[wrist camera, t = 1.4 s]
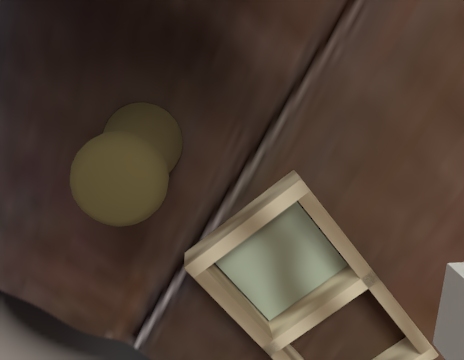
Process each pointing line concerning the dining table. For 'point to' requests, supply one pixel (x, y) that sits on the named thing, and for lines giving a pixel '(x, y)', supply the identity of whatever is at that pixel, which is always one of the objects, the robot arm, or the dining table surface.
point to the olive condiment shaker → (127, 165)
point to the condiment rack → (291, 272)
